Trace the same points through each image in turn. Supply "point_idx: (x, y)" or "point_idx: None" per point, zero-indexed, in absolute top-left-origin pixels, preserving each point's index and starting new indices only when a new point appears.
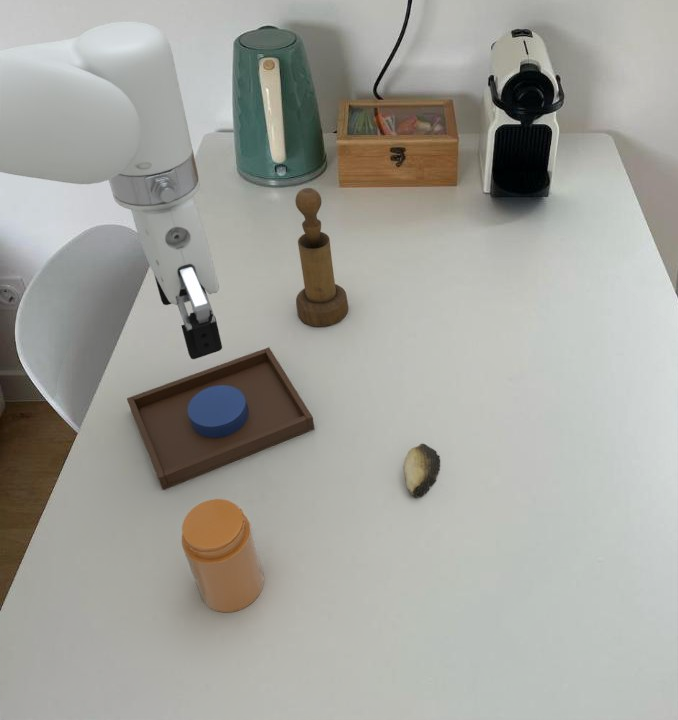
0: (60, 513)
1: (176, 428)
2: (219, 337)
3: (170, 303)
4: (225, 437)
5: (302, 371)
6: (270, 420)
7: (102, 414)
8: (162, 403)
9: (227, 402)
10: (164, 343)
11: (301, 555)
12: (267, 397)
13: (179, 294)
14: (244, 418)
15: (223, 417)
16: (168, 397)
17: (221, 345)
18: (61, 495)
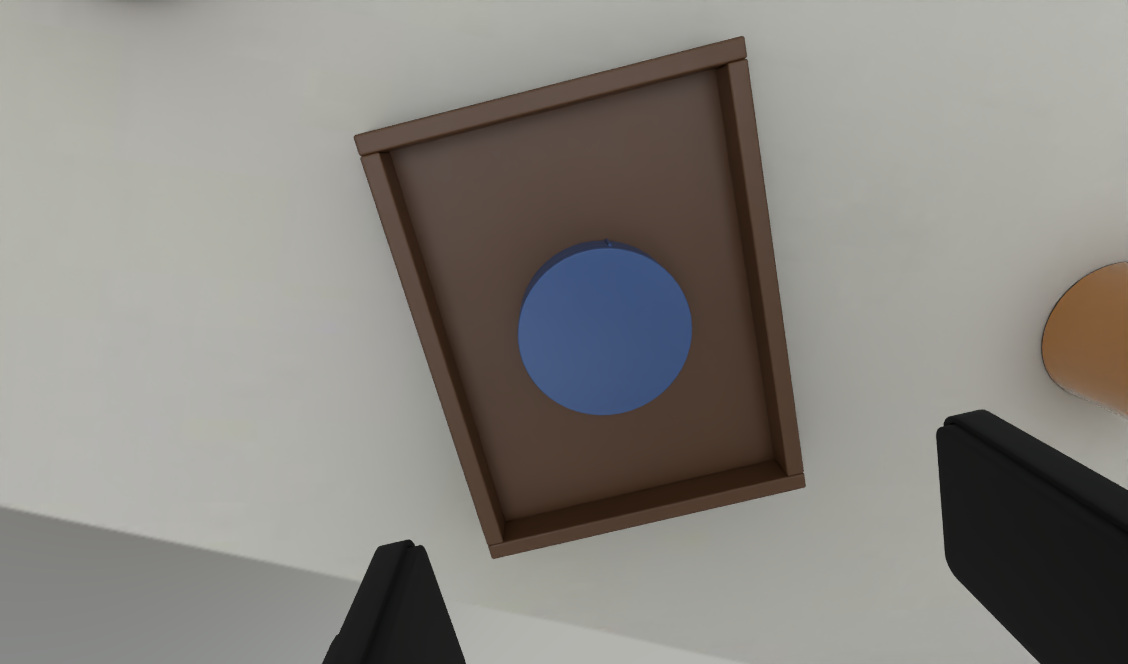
0: (766, 650)
1: (608, 432)
2: (1047, 448)
3: (457, 647)
4: None
5: (453, 37)
6: (660, 178)
7: (491, 590)
8: (502, 463)
9: (603, 303)
10: (233, 450)
11: (1124, 163)
12: (560, 174)
13: (435, 631)
14: (648, 255)
15: (663, 319)
16: (483, 448)
17: (994, 417)
18: (718, 652)
